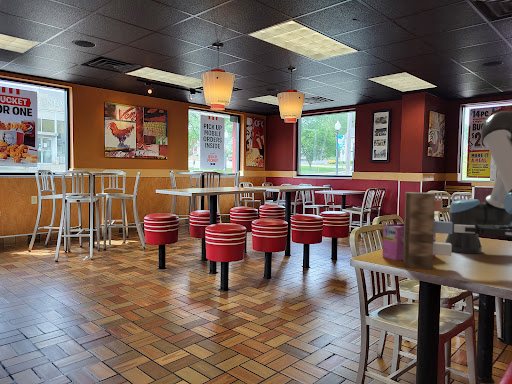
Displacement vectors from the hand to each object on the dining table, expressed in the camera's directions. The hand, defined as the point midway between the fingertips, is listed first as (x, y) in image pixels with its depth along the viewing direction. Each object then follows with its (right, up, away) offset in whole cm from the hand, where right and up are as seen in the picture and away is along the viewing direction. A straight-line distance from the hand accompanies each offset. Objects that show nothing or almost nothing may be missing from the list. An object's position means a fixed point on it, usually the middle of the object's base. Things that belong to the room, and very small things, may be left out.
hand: (454, 228), depth 139 cm
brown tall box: (-11, -15, +5) cm, 19 cm away
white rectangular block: (-5, -10, +3) cm, 11 cm away
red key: (-8, +6, +3) cm, 11 cm away
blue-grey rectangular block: (-5, -2, +2) cm, 6 cm away
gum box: (-8, -14, +21) cm, 26 cm away
